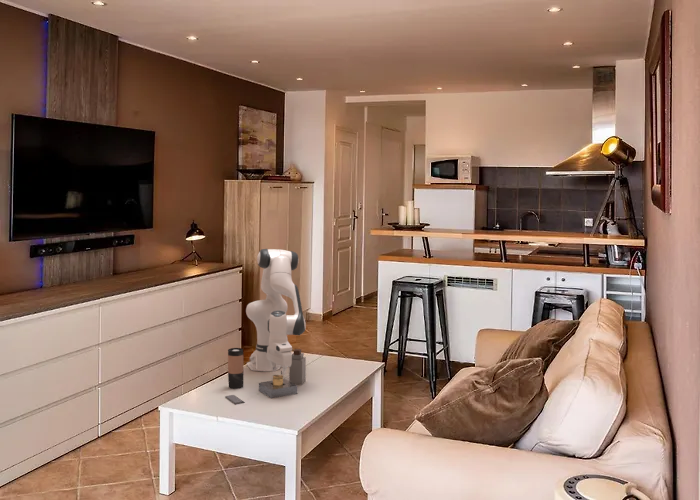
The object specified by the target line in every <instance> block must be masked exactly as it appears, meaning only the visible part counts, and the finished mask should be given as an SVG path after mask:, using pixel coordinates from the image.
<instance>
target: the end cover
mask: <svg viewBox="0 0 700 500" xmlns="http://www.w3.org/2000/svg"><path fill="white" fill-rule="evenodd" d="M283 379H284V375H281V374H273V375H272V381H273V385H274V386H281V385H283Z"/></svg>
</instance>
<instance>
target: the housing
mask: <svg viewBox="0 0 700 500" xmlns="http://www.w3.org/2000/svg"><path fill="white" fill-rule="evenodd" d="M258 392H260V393H262V394H263V395H265V396H267V397H268V398H269V399H275V398H279V397H287V396H291V395H298V384H293V383H292V382H290V381H289V379H286V378H283V385H281V386H274V385H273V380H268V381H261V382H258Z"/></svg>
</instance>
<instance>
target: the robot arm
mask: <svg viewBox="0 0 700 500" xmlns="http://www.w3.org/2000/svg"><path fill="white" fill-rule="evenodd" d="M256 259H257V260H256V262H257V265H258V266H259V268H261V269H262V276H261V282H260V289H261V291H262V292H263V293H264V294H266V297H265V299H260V300H254V301H252V302H249V303H248V304H247V305H246V308H245V313H246V316H247V318H248V319H249V320H250V321H251V322H253V324H254V326H255V329H256V339H257V341H256V344H255V350H254V351H253V353H251V355H250V356H249V361H248V362H246V366H247V367H248V368H249V369H250V370H251V371H253V372H256V371H257V372H258V371H259V372H276V371H278V370H280V369H281V370H280V375H283V376H286V374H287V373H286V371H287V369H288V368H289V367H291V364H292V354H293V353H292V351H293V346H292V344H291V343H290V342H289V339H288V336H289V335H290V336H301V335H302V334H304V333H305V331H306V328H307V327H306V326H307V323H306V319H305V316H304V314H303V306H302V302H301V301H302V300H301V295H300V291H299V287H298V286H297V285H296V284H295V283H294V281H293V277H292V272H293V271H295V270H296V269H297V268H298V265H299V261H300V259H299V255H298V253H297V252H296V251H293V250H285V249H279V248H278V249H274V248H269V249H268V248H261V249H260V250H259V251H258V254H257V256H256ZM282 295H283V296H285V297H287V298H289V299H290V300H291V301H292V304H293V310H294V314H293V315H292V314H289V315H288V314H287V312H288V302H287V301H286V299H284V298H283V296H282Z"/></svg>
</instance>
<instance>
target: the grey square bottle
mask: <svg viewBox="0 0 700 500" xmlns="http://www.w3.org/2000/svg"><path fill="white" fill-rule="evenodd" d="M304 354H305V353H304V352H302V348H299V349H298V348H295V349H294V350H293V353H292V364H291V367H288V376H289V378H288V381H290V382H292V383H293V384H295V385H300V386H302V385H304V383H306V382H307V381H306V378H307V377H306V375H307V373H306V371H307V370H306V369H307V368H306V367H307V366H306V365H307V364H306V363H307V360H306V359H307V358H306V357H305V356H304Z"/></svg>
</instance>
